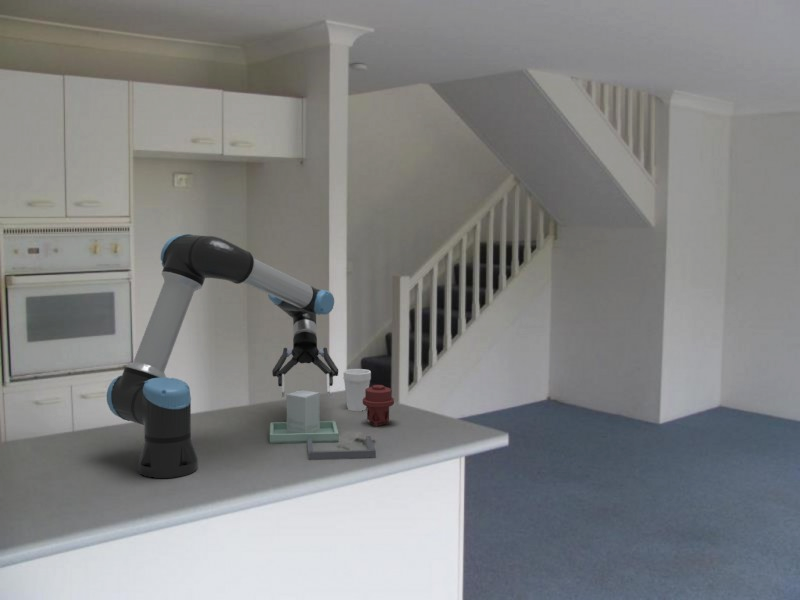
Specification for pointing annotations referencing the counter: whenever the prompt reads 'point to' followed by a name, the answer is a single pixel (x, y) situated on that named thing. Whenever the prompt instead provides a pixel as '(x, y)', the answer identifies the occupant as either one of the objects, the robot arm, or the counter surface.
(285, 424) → the tray
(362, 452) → the dock
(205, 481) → the counter surface
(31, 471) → the counter surface
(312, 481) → the counter surface
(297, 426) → the supplement box
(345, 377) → the foam cup
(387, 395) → the mechanical component
